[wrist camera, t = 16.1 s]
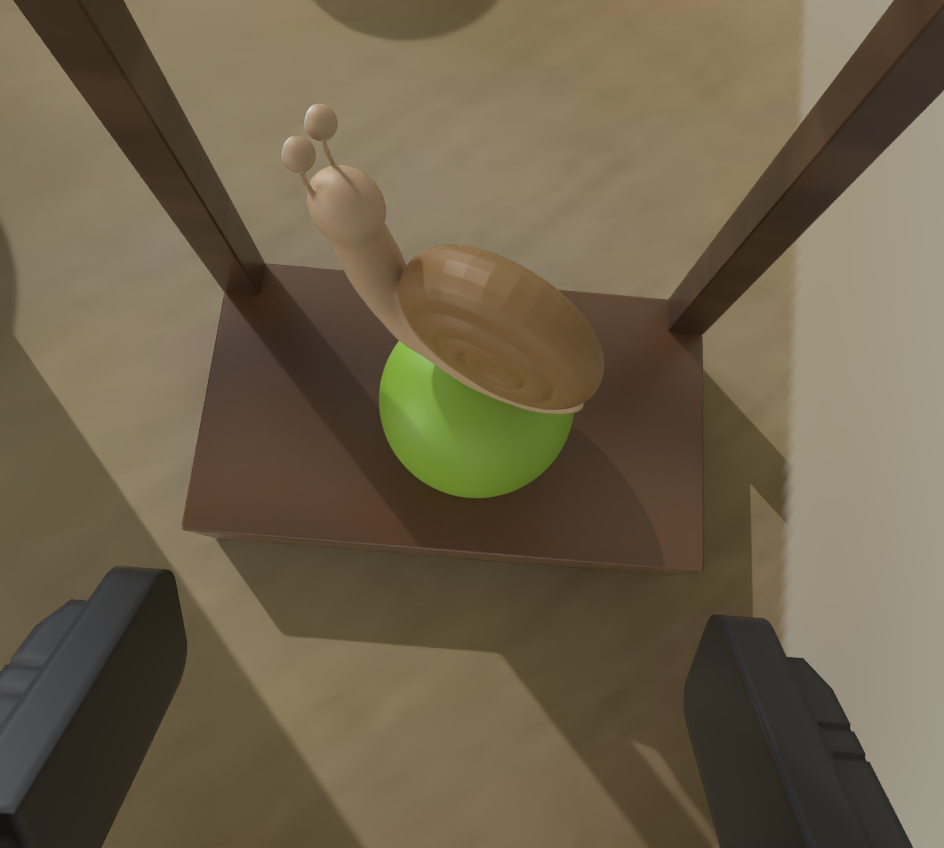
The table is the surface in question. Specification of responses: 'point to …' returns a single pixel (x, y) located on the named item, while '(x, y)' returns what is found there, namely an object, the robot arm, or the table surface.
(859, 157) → the shelf unit
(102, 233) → the table surface
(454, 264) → the snail figurine
